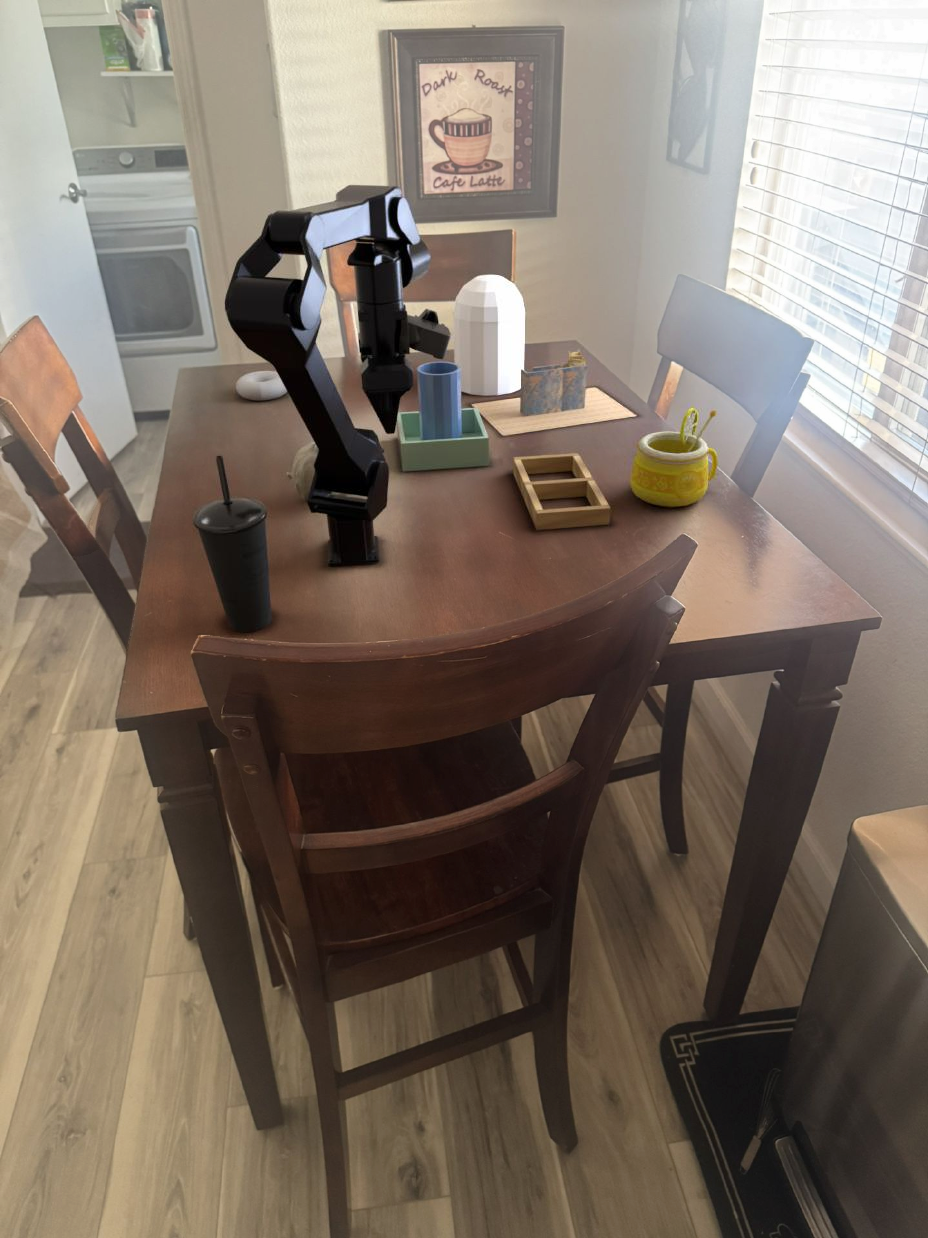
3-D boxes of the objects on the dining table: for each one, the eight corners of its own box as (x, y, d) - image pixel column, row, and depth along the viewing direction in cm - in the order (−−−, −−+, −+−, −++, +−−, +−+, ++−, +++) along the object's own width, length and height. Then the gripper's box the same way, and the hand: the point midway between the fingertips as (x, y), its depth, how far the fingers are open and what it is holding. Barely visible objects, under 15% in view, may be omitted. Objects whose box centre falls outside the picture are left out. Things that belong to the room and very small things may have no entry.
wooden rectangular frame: (609, 524, 116) (610, 507, 114) (536, 530, 115) (537, 513, 114) (576, 468, 132) (577, 452, 130) (512, 472, 131) (512, 457, 129)
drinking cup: (255, 595, 102) (226, 436, 91) (297, 617, 98) (272, 453, 87) (202, 624, 98) (164, 459, 86) (244, 647, 93) (211, 478, 82)
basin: (489, 465, 133) (488, 437, 130) (402, 471, 132) (401, 443, 129) (477, 433, 144) (477, 407, 141) (397, 439, 143) (396, 412, 140)
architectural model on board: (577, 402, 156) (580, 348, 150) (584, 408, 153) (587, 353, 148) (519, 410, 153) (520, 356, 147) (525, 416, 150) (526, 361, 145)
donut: (283, 383, 169) (232, 390, 165) (281, 365, 167) (229, 372, 163) (296, 398, 161) (243, 406, 157) (294, 380, 159) (241, 387, 156)
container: (536, 379, 167) (539, 270, 156) (502, 400, 157) (502, 286, 146) (477, 369, 173) (476, 264, 162) (441, 388, 164) (437, 278, 152)
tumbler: (470, 448, 137) (469, 367, 130) (440, 460, 134) (437, 377, 126) (443, 437, 141) (440, 358, 134) (412, 448, 138) (408, 368, 130)
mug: (649, 517, 117) (659, 434, 111) (617, 485, 126) (623, 406, 119) (733, 504, 120) (747, 422, 113) (695, 474, 129) (706, 396, 122)
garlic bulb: (356, 506, 127) (375, 446, 122) (329, 523, 120) (348, 459, 115) (302, 480, 129) (318, 418, 124) (272, 494, 121) (288, 430, 116)
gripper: (453, 314, 98) (457, 443, 107) (437, 278, 114) (441, 393, 122) (356, 319, 97) (367, 449, 106) (353, 282, 113) (363, 398, 121)
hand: (388, 420), depth 114 cm, fingers open, 9 cm apart
